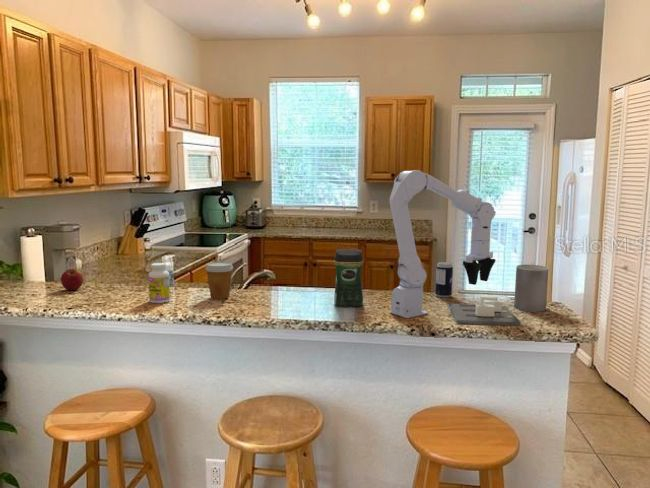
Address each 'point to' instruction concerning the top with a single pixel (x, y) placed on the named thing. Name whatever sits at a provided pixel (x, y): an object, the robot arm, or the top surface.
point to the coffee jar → (348, 278)
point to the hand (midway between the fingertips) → (478, 282)
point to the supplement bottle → (159, 283)
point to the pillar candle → (531, 288)
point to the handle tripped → (484, 310)
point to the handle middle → (494, 304)
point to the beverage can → (444, 279)
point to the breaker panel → (468, 316)
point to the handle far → (486, 298)
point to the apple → (72, 279)
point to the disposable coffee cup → (219, 279)
